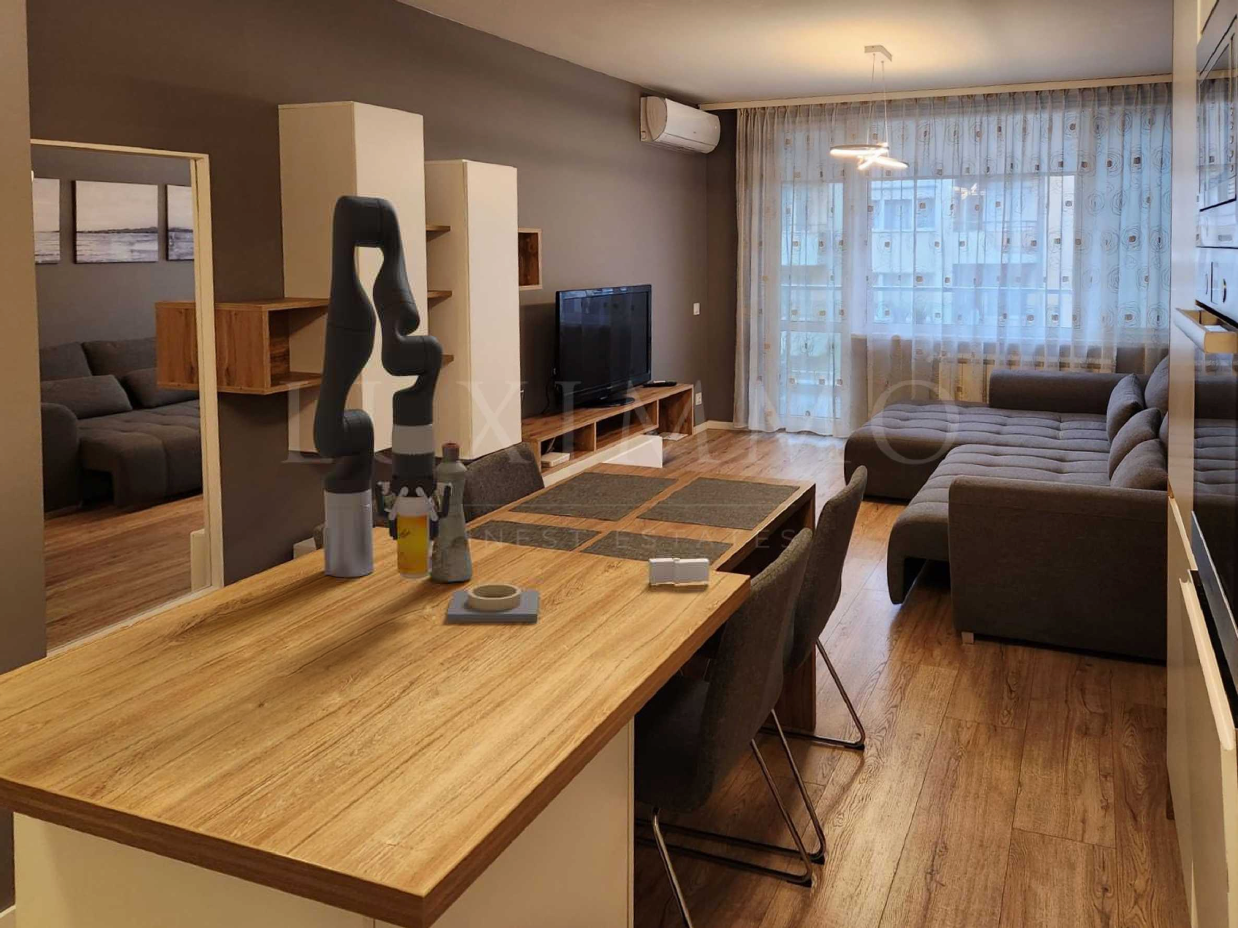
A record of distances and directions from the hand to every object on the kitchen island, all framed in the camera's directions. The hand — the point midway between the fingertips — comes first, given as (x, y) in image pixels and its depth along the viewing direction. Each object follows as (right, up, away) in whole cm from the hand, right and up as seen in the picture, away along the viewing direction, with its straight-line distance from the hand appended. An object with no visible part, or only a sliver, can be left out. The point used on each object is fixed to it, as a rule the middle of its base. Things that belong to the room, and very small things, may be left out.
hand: (414, 539), depth 200 cm
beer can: (0, -7, +1) cm, 7 cm away
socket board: (+14, -13, +4) cm, 20 cm away
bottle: (+3, -10, +22) cm, 25 cm away
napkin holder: (+48, -11, +21) cm, 54 cm away
